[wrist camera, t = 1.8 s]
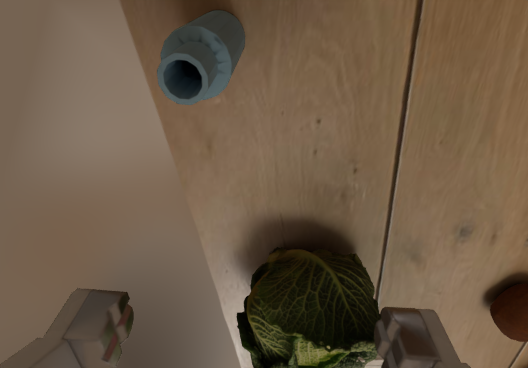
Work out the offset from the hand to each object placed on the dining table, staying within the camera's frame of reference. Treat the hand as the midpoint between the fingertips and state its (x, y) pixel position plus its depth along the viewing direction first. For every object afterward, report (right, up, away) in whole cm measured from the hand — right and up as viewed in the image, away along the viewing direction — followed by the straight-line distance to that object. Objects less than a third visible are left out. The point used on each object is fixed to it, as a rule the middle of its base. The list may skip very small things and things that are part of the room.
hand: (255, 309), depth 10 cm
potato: (+43, -15, +44) cm, 63 cm away
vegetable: (+7, -10, +42) cm, 44 cm away
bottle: (-4, +20, +23) cm, 30 cm away
